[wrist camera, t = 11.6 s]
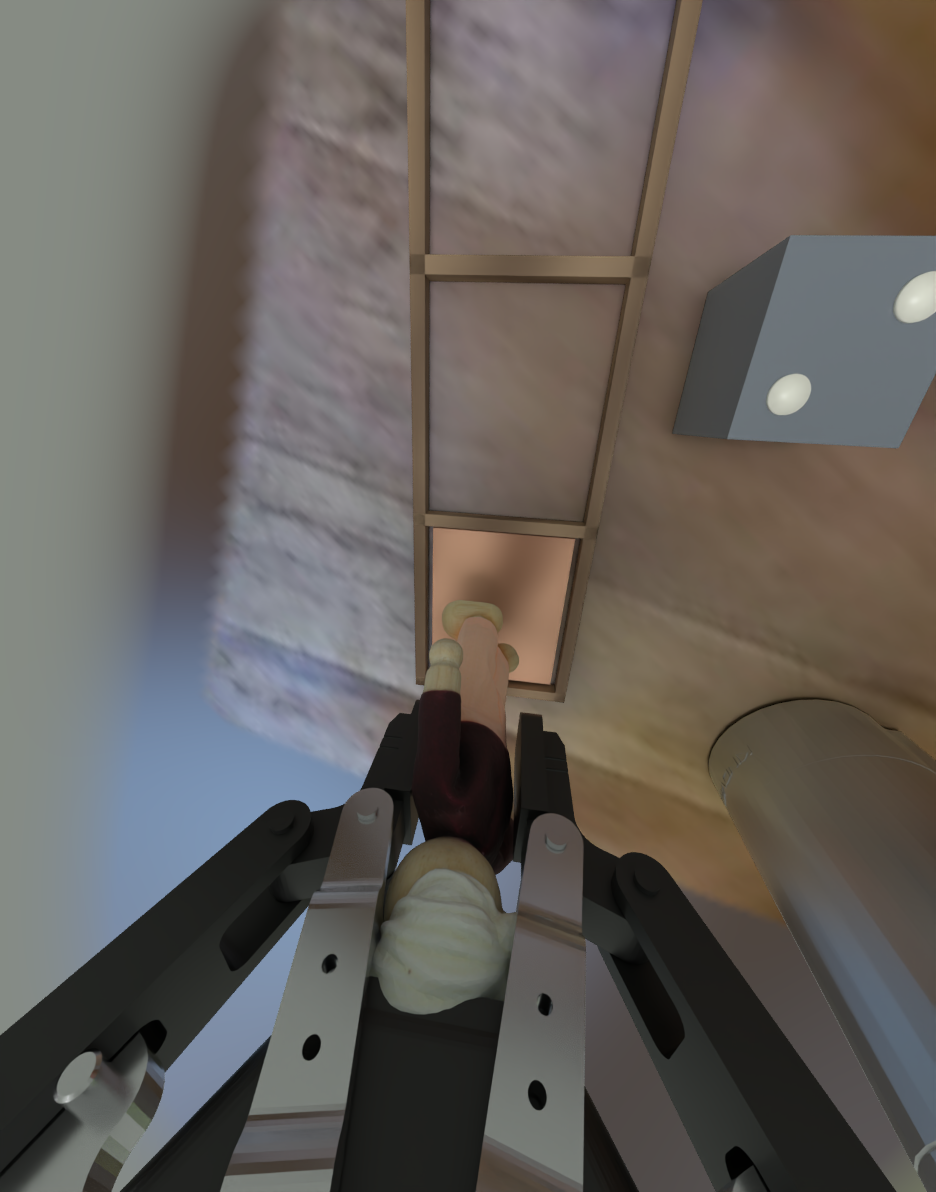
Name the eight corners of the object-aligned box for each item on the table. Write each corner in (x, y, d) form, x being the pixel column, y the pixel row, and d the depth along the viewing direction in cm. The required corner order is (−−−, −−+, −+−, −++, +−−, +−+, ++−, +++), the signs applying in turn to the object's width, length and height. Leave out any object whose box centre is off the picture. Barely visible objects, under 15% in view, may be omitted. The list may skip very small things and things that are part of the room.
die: (850, 294, 14) (1010, 233, 9) (794, 440, 16) (903, 448, 12) (708, 291, 15) (793, 232, 10) (672, 433, 17) (729, 439, 12)
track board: (737, -210, 10) (753, -258, 9) (562, 693, 23) (564, 702, 23) (410, -176, 11) (402, -217, 10) (419, 676, 24) (415, 684, 23)
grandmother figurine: (406, 600, 17) (182, 966, 6) (480, 563, 16) (387, 931, 5) (487, 720, 20) (444, 1146, 8) (556, 696, 18) (621, 1152, 7)
